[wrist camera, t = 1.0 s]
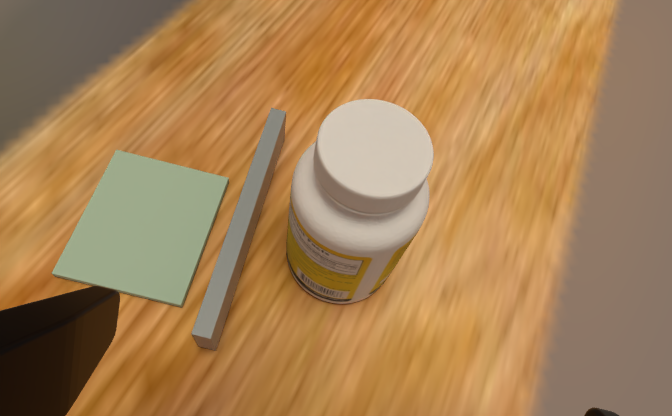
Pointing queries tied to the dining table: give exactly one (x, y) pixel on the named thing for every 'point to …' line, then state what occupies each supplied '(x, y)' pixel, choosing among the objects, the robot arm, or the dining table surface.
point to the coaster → (144, 229)
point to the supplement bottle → (357, 199)
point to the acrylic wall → (239, 234)
